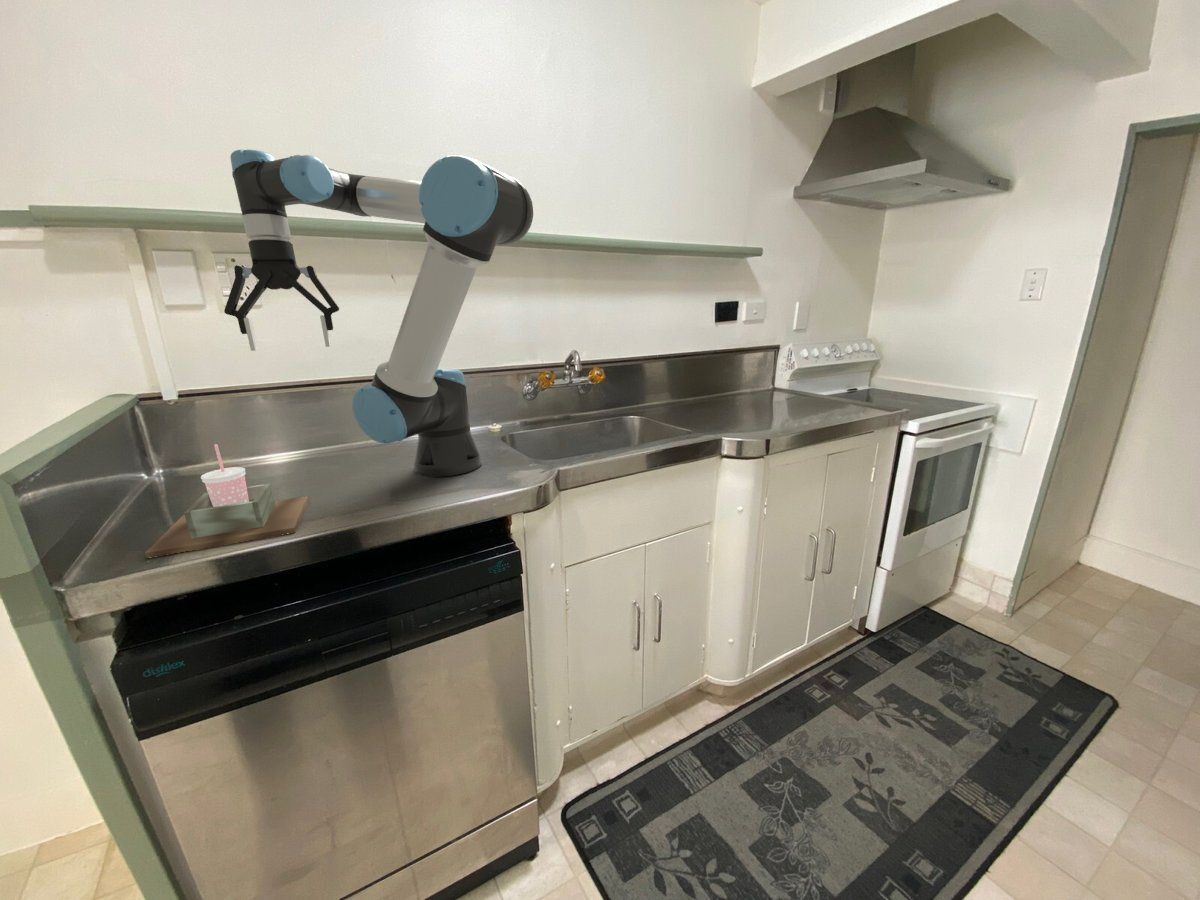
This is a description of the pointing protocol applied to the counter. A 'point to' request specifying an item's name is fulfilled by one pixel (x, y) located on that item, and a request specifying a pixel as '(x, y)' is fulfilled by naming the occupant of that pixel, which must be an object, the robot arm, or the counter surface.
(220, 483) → the beverage cup
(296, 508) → the cup holder
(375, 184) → the robot arm
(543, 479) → the counter surface
